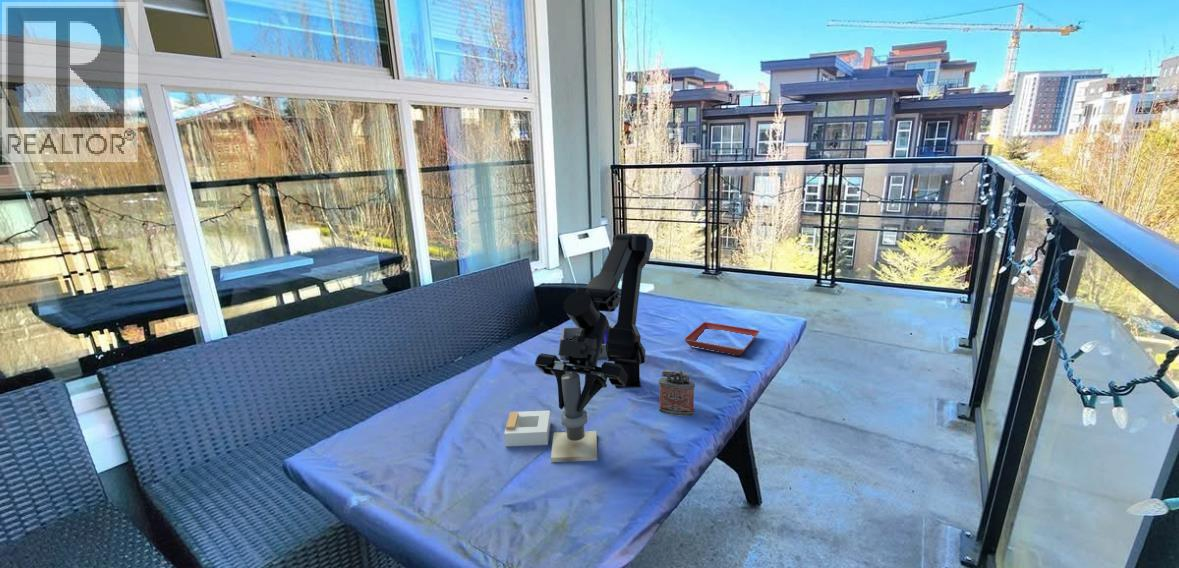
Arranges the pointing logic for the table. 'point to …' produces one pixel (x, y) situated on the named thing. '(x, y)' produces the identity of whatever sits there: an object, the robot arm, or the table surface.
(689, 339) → the plant saucer
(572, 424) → the plug
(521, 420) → the socket block
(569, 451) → the birch board
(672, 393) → the lighter
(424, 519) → the table surface
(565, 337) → the storage tray
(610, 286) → the robot arm
